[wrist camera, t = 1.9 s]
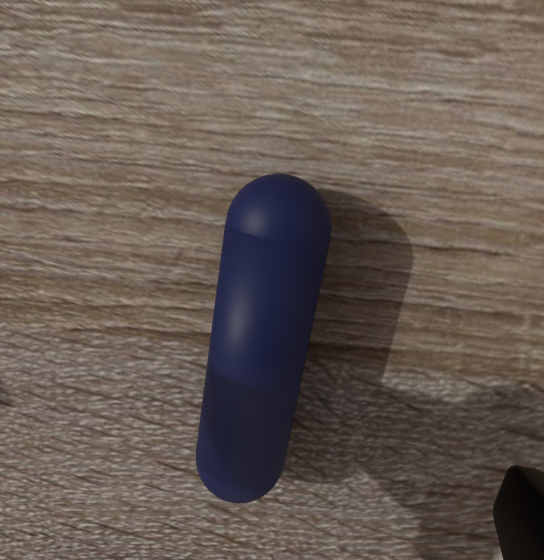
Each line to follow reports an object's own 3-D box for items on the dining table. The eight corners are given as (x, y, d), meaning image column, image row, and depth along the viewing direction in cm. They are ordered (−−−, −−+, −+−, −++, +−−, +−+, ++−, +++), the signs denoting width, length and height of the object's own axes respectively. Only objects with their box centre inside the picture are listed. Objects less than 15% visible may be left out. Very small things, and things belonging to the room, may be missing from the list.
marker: (279, 467, 13) (274, 532, 11) (201, 453, 13) (181, 515, 11) (337, 177, 11) (345, 191, 9) (240, 161, 11) (224, 170, 9)
